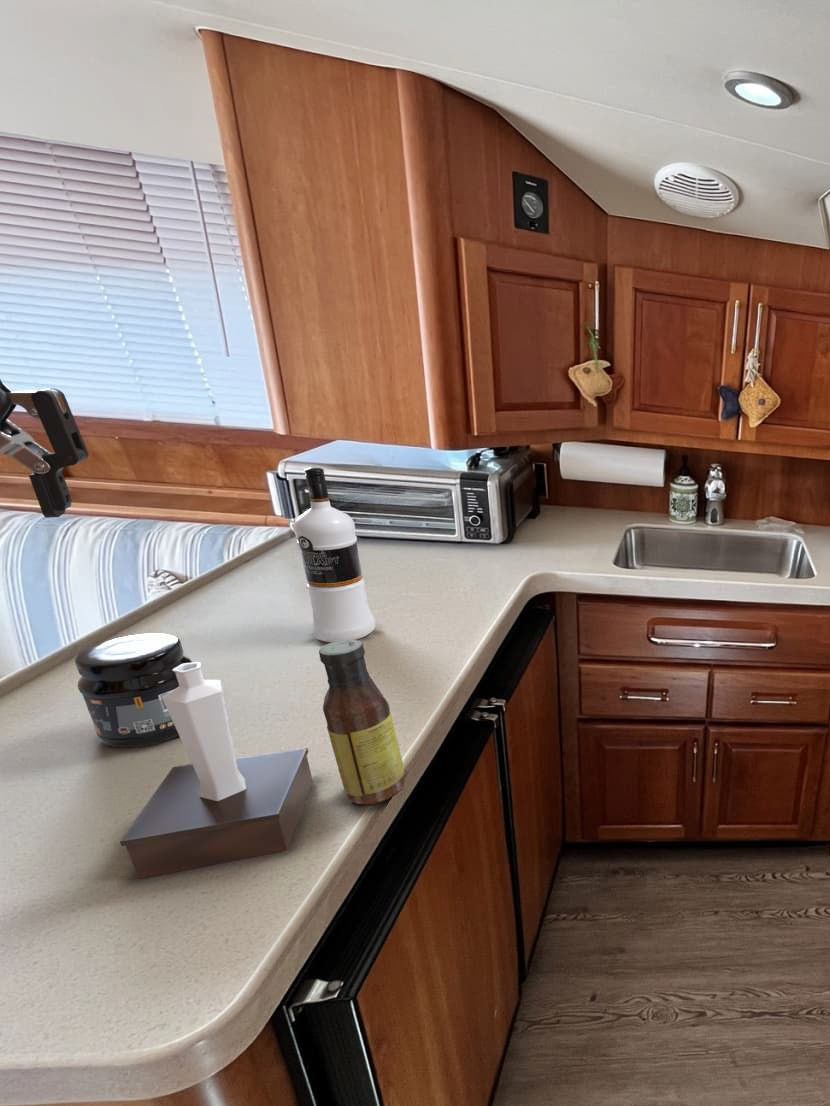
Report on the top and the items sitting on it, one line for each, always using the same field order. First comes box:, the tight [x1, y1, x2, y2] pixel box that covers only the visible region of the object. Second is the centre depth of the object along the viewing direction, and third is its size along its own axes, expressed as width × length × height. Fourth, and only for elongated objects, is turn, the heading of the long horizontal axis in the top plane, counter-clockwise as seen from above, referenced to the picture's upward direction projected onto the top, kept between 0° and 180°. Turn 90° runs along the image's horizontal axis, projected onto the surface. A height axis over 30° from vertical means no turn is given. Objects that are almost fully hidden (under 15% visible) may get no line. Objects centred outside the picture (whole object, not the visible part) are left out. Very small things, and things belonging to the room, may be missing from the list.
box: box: [119, 747, 314, 880], centre depth 70 cm, size 12×12×5 cm
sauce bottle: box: [318, 639, 406, 805], centre depth 74 cm, size 7×6×20 cm
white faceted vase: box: [162, 661, 246, 801], centre depth 66 cm, size 5×4×15 cm
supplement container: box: [74, 633, 194, 748], centre depth 83 cm, size 10×10×12 cm
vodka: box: [293, 466, 376, 643], centre depth 109 cm, size 9×9×30 cm
